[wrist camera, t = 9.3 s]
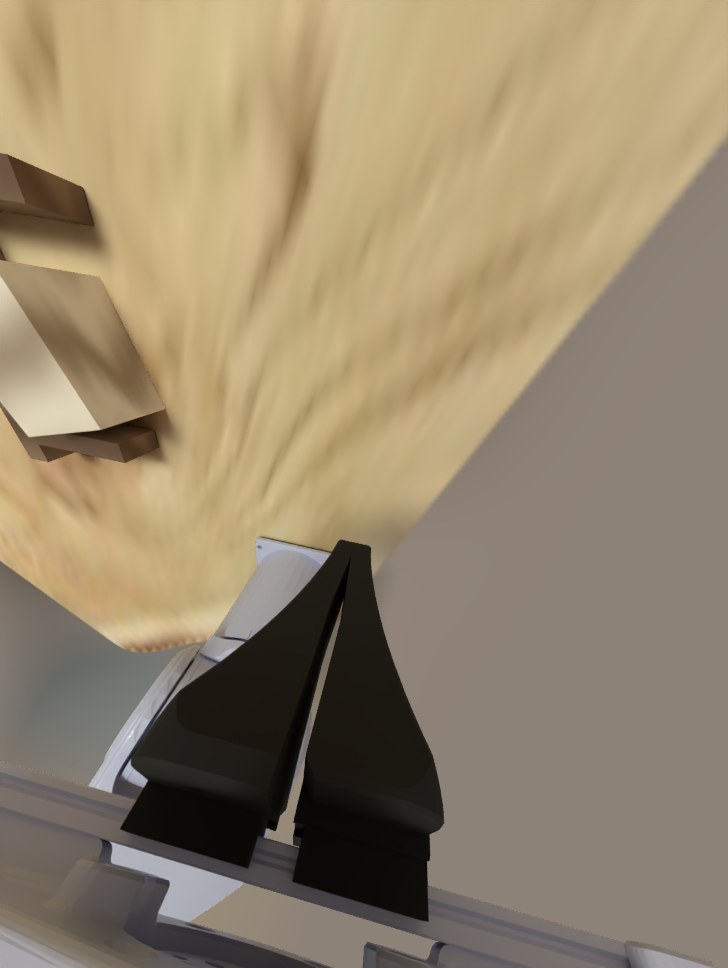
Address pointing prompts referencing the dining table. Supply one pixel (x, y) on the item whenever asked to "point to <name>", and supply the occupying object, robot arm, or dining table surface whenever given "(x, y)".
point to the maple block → (66, 354)
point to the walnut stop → (15, 191)
